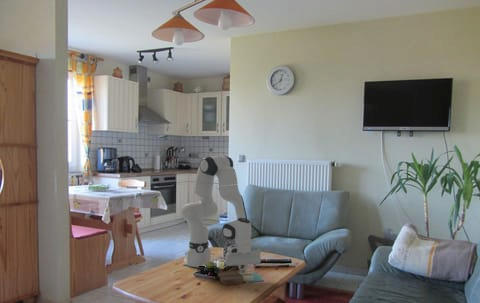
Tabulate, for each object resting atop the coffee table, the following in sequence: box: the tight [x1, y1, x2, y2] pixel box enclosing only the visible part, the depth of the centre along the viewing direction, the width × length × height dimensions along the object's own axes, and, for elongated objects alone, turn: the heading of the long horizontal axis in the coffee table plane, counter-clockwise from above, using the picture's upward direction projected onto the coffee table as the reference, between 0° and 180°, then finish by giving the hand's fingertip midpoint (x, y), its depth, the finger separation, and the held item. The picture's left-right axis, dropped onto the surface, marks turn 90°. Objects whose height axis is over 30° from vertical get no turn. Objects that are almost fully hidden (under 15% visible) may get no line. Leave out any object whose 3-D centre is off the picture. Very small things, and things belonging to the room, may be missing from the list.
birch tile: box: [238, 271, 254, 282], centre depth 211 cm, size 9×6×2 cm, turn 15°
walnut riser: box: [219, 270, 244, 286], centre depth 209 cm, size 14×11×2 cm
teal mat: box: [244, 272, 264, 283], centre depth 213 cm, size 12×10×1 cm
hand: (242, 272), depth 210 cm, fingers closed
